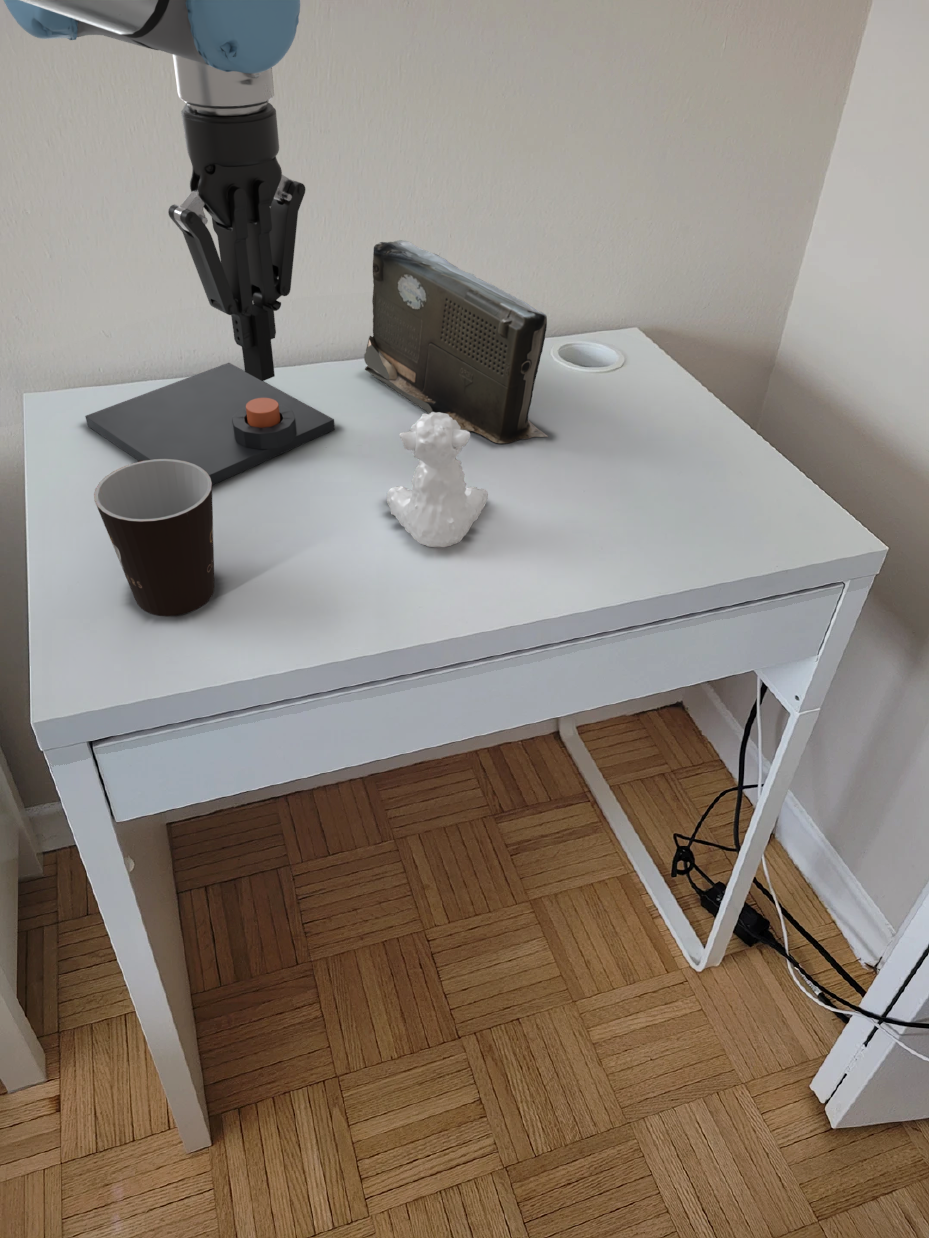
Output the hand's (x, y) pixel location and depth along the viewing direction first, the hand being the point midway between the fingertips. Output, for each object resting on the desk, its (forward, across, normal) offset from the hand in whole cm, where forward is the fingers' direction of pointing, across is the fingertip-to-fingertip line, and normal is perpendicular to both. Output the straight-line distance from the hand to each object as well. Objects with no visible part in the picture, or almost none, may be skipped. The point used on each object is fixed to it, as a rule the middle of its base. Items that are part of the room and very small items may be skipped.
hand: (259, 374), depth 92 cm
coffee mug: (+8, -19, -12) cm, 24 cm away
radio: (+8, +21, -6) cm, 23 cm away
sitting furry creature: (+8, +2, -22) cm, 24 cm away
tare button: (+5, 0, 0) cm, 5 cm away
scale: (+8, -2, +6) cm, 10 cm away
